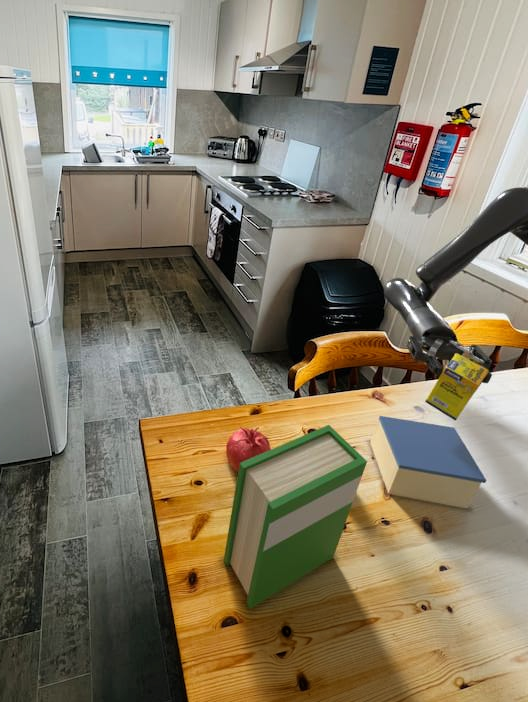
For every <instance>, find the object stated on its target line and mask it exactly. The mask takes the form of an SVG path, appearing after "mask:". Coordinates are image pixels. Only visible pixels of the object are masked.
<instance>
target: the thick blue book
mask: <svg viewBox="0 0 528 702" xmlns="http://www.w3.org/2000/svg"><path fill="white" fill-rule="evenodd" d="M370 446H371V449H372V452H373V454H374V457H375V461H376V463H377V466H378V468H379V472H380V475H381V477H382V480H383V483H384V486H385V489H386V491H387V494H388V495H392V496H398V497H404V498H408V499H413V500H414V499H415V500H420V501H425V502H431V503H434V504H435V503H436V504H441V505H446V506H450V507H451V506H452V507H457V508H461V509H467V510H468V509H469V507H470V505H471V503H472V502H473V499H474V498H475V496H476V494H477V492H478V490H479V488H480V486H481V484H482V483H481V482H476V481H470V480H464V479H459V478H453V477H447V476H442V475H436V474H430V473H425V472H419V471H413V470H408V469H402V468H398V465H397V463H396V460H395V458H394V455H393V453H392V450H391V448H390V445H389V443H388V440H387V438H386V435H385V433H384V430H383V428H382V425H381V423H380V420H379V418H378V420H377V422H376V426H375V428H374V431H373V433H372V437H371V440H370Z"/></svg>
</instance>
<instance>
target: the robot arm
mask: <svg viewBox="0 0 528 702" xmlns="http://www.w3.org/2000/svg"><path fill="white" fill-rule="evenodd" d="M508 233H511V234H512V235H513V236H515V237H516V238H517V239H519V240H520V241H521V242H523V243H524V244H525V245H526V246H528V188H527V187H511V188H508V189H506V190H503V191H502V192H500V193H499V194H498V195H496V196H495V198H494V199H493V200H492V201H491V202H489V204H488V205H487V206H486V207H485V208H484V209H483V211H482V212H480V214H479V215H478V216H477V217H476V218H475V219H474V220H473V221H472V222H471V223H470V224H469V225H468V226H467V227H465V229H464V230H462V231H461V232H460V233H459V234H458V235H457V236H455V237H454V238H453V239H452V240H451V241H449V242H448V243H447V244H446V245H444V246H443V247H442V248H440V249H439V250H438V251H437V252H435V253H434V254H433V255H432V256H430V257H429V258H428V259H426V260H425V261H424V262H423V263H422V264H420V265H419V266H418V267H417V268H416V270H415V275H416V276H417V278H418V279H419V280H420V281H421V282H420V284H419V285H418V287H416V286H415V285H414V284H413V283H411V281H408V280H407V279H405V278H402V277H395V278H391V279H389V280H388V281H387V282H386V283H385V285H384V288H383V295H384V298H385V299H386V301H387V302H388V303H389V304H390V305H391V306H392V307H393V308H394V309H395V310H396V311H397V312H398V313H399V315H400V316H401V318H402V319H403V321H404V322H405V324H406V325H407V328H408V330H409V332H410V334H411V335H410V336H409V338H408V340H407V342H406V347H407V350H408V352H409V354H410V356H411V358H412V360H414V362H417V363H419V362H420V361H421V362H423V364H424V365H426V366H427V367H428V368H429V371H430V372H431V373H432V374H434V376H436V377H440V375H441V373H442V372H443V370H444V367H443V365H442V364H441V363H440V360H441V361H449V362H450V361H451V360H452V358H453V357H454V355H455V353H456V354H459V355H461V356H463V354H464V357H465V358H467V359H468V360H470V361H472V362H474V363H476V364H478V365H480V366H482V367H484V368H485V369H487V370H489V368H490V366H491V365H492V363H493V360H492V359H491V358H490V357H489V356H488V355H487V353H485V352H484V351H483V350H482V349H481V348H480V346H478V345H477V344H471V346H464V344H462V343H460V342H459V341H458V338H457V335H456V332H455V331H454V330H453V329H452V328H451V326H450V325H449V324H448V322H446V319H444V317H442V316H441V314H439V313H438V312H437V311H436V310H435V308H434V307H433V306H432V305H431V304H430V301H431V300H432V299H433V297H434V296H435V295H436V294H437V292H438V291H439V290H440V288H442V286H444V285H445V284H446V283H448V282H449V281H451V280H452V279H454V277H456V276H458V275H459V274H460V273H461V272H463V271H464V269H466V268H467V267H468V266H469V265H470V264H471V263H472V262H473V261H474V260H475V259H476V258H477V257H478V256H479V255H480V254H481V253H482V252H483V251H485V249H487V248H488V247H489V246H491V245H492V244H493V243H494V242H496V241H498V240H499V239H500V238H502V237H503V236H505V235H507V234H508ZM438 359H439V360H438ZM492 376H493V375H492V373H491V371H490V370H489V371H488V373H487V375H486V377H485V378H484V380H483V382H482V383H483V384H489V382H490V381H491V379H492Z"/></svg>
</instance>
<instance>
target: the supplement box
mask: <svg viewBox="0 0 528 702" xmlns="http://www.w3.org/2000/svg"><path fill="white" fill-rule="evenodd" d="M488 371H490V370H489V369H488V370H487V369H485V368H484V367H482V366H480V365H478V364H476V363H475V362H474V361H473V360H468V359H467V358H465V356H463V355H462V356H461V355H459V354H456V353H455V355H454V357H453V358H452V360H451V361H449V362H448V363H447V364H446V365H445V366H444V367H443V372H442V373H441V375H440V376H438V379H437V380H436V382H435V384H434V386H433V387H432V389H431V390H430V392H429V394H428V396H427V398H426V399H425V403H426V404H427V405H429V406H430V407H432V408H433V409H435V410H437V411H439V412H440V413H442V414H444V415H445V416H447V417H448V418H450V419H452V420H453V421H457V420H458V418H459V417H460V416H461V413H462V412H463V410H464V409H465V407H466V406H467V405H468V404H469V401H470V400H471V398H472V397H473V396H474V395H475V393H476V392H477V391H478V389H479V388H480V386H481V384H482V383H483V380H484V378H485V377H486V375H487V373H488Z"/></svg>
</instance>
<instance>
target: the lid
mask: <svg viewBox="0 0 528 702" xmlns="http://www.w3.org/2000/svg"><path fill="white" fill-rule="evenodd" d="M378 419H379V420H380V423H381V425H382V428H383V430H384V433H385V435H386V438H387V440H388V443H389V445H390V448H391V450H392V453H393V455H394V458H395V460H396V463H397V465H398V468H402V469H408V470H413V471H419V472H425V473H430V474H436V475H442V476H447V477H453V478H459V479H464V480H470V481H476V482H481V484H486V482H487V478H486V477H485V475H484V474H483V472H482V471H481V469H480V467H479V466H478V464H477V462H476V461H475V459H474V457H473V455H472V454H471V453H470V451H469V449H468V447H467V446H466V444H465V443H464V441H463V439H462V438H461V436H460V434H459V433H458V431H457V430H456V428H455V427H454V426H446V425H441V424H436V423H434V424H433V423H429V422H422V421H415V420H409V419H403V418H398V417H397V418H396V417H390V416H383V415H379V417H378Z"/></svg>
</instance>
